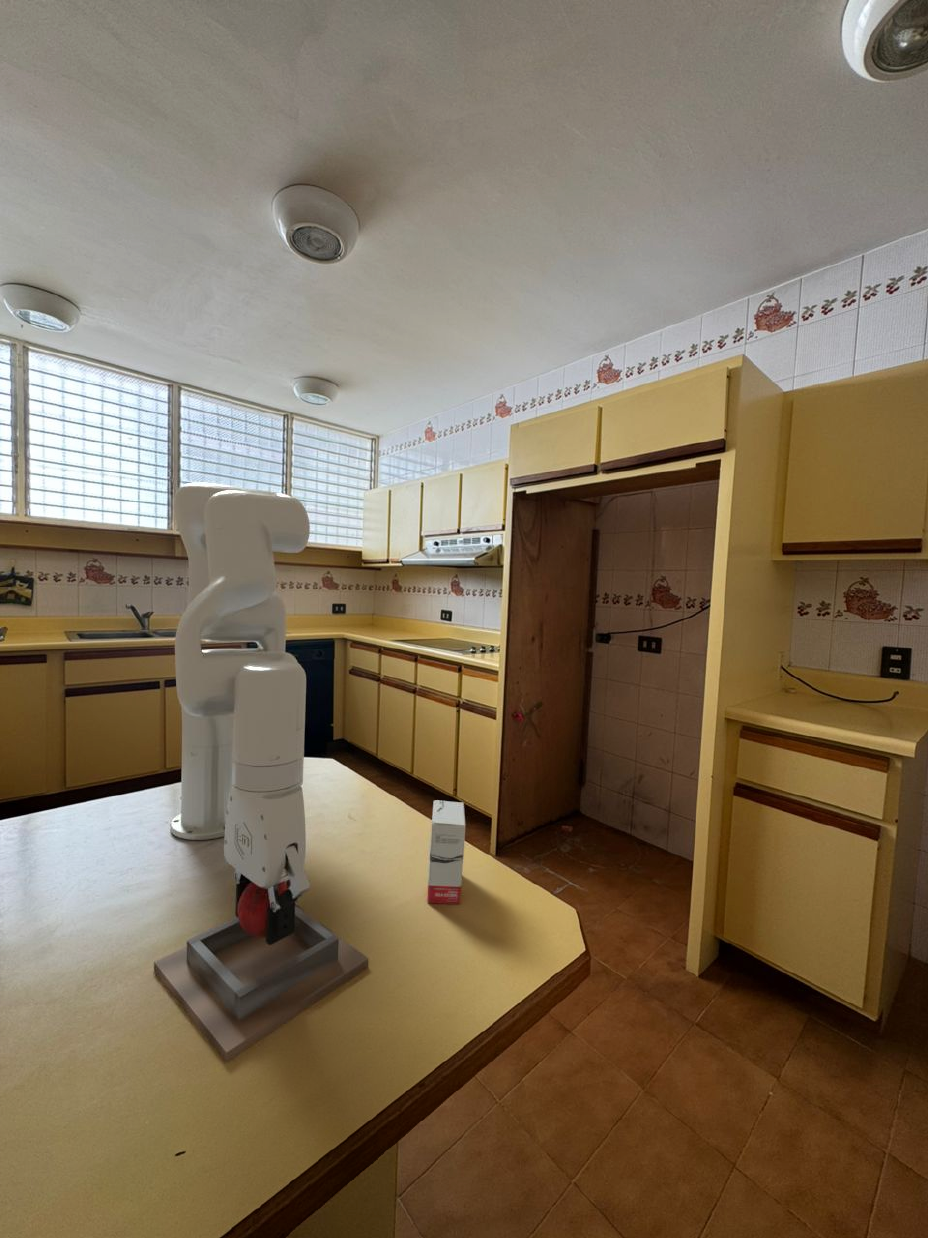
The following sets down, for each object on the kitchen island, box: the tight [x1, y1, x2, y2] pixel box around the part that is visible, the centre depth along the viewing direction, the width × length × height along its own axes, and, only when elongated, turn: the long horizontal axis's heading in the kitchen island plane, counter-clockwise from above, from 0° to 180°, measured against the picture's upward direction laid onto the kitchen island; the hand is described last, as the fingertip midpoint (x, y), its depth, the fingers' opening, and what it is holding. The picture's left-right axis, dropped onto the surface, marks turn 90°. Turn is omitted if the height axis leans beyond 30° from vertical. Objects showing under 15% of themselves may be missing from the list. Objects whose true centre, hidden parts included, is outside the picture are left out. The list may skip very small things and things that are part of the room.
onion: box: [237, 881, 287, 937], centre depth 61 cm, size 6×6×8 cm
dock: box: [153, 903, 369, 1063], centre depth 61 cm, size 17×17×4 cm
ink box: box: [426, 799, 466, 905], centre depth 79 cm, size 8×5×12 cm, turn 2°
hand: (264, 923), depth 61 cm, fingers closed on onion, 5 cm apart
